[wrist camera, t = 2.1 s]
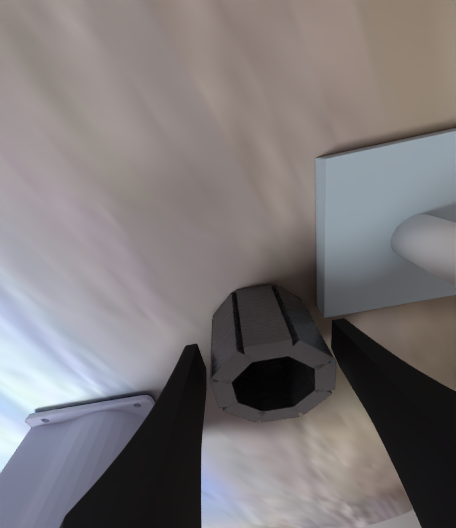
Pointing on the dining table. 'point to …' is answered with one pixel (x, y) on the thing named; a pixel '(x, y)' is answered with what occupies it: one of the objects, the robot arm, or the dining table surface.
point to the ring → (268, 356)
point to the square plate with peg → (386, 224)
